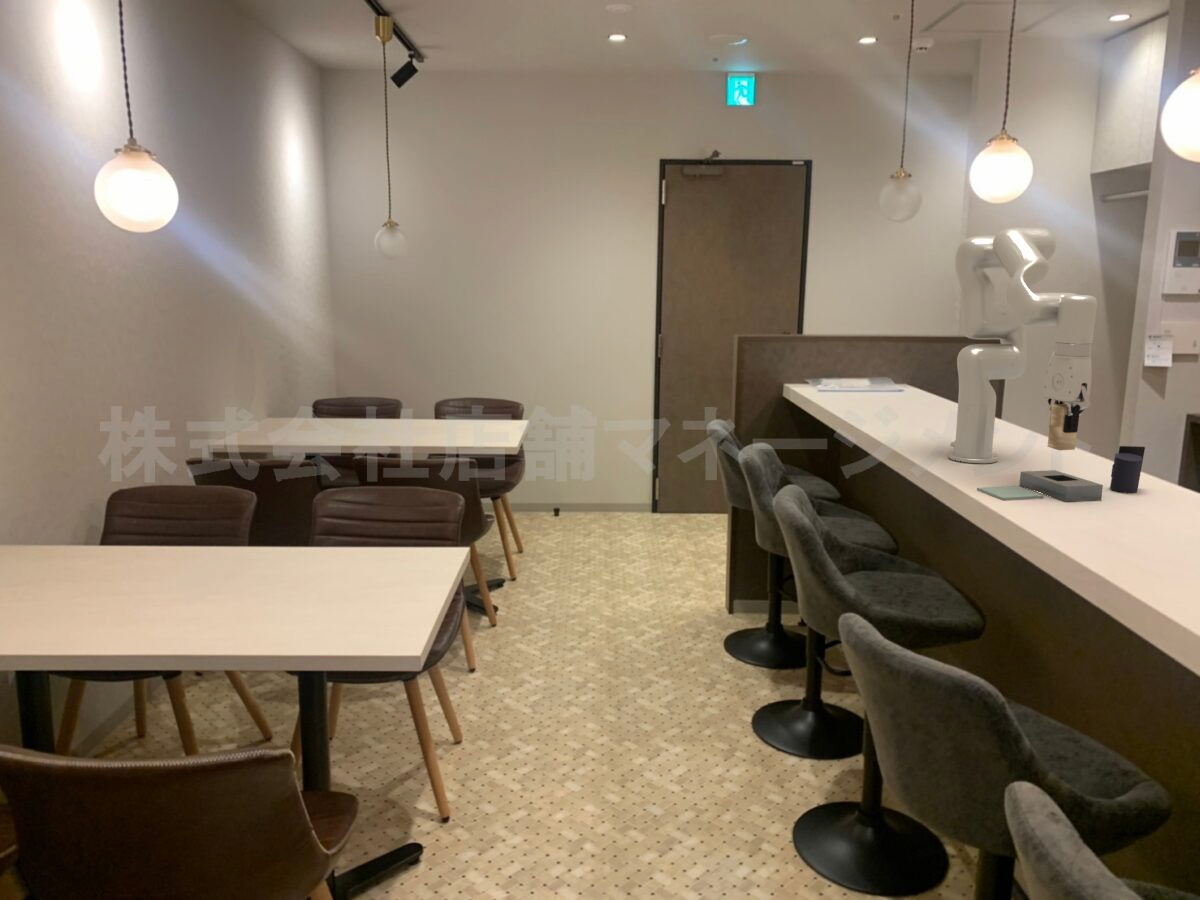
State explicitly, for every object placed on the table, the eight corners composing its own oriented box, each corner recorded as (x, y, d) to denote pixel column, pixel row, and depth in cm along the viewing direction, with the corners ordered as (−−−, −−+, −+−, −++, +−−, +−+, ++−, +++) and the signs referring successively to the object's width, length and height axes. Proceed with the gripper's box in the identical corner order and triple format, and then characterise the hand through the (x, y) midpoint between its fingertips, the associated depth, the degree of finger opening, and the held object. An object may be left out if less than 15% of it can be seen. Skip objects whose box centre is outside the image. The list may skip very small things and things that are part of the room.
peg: (1047, 446, 203) (1052, 404, 201) (1062, 446, 203) (1067, 403, 201) (1059, 450, 199) (1064, 407, 197) (1074, 449, 200) (1079, 406, 197)
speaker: (1110, 484, 210) (1116, 442, 207) (1138, 488, 207) (1145, 446, 204) (1107, 493, 204) (1114, 450, 201) (1136, 497, 201) (1143, 454, 198)
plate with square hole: (1019, 485, 209) (1020, 471, 209) (1053, 484, 211) (1054, 470, 210) (1065, 502, 194) (1066, 486, 193) (1101, 500, 195) (1102, 484, 195)
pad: (976, 490, 205) (977, 487, 205) (1015, 488, 207) (1015, 485, 207) (1003, 500, 196) (1003, 497, 195) (1043, 498, 197) (1043, 495, 197)
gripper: (1033, 347, 204) (1024, 424, 208) (1083, 355, 188) (1073, 438, 192) (1061, 346, 205) (1053, 423, 209) (1114, 354, 189) (1104, 437, 193)
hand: (1063, 429), depth 200 cm, fingers closed on peg, 4 cm apart
